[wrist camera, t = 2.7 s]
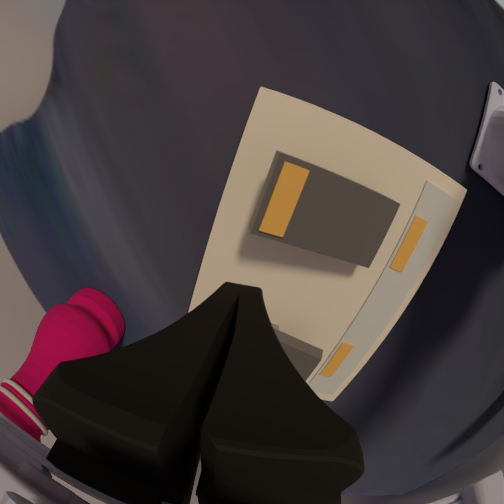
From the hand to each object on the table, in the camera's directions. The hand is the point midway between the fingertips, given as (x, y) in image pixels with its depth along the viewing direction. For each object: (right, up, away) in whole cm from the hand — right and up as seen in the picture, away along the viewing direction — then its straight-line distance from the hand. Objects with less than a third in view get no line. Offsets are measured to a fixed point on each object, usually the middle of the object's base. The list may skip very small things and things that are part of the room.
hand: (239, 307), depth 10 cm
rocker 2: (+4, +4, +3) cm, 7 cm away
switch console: (+5, +1, +9) cm, 10 cm away
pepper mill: (-14, -4, +14) cm, 20 cm away
